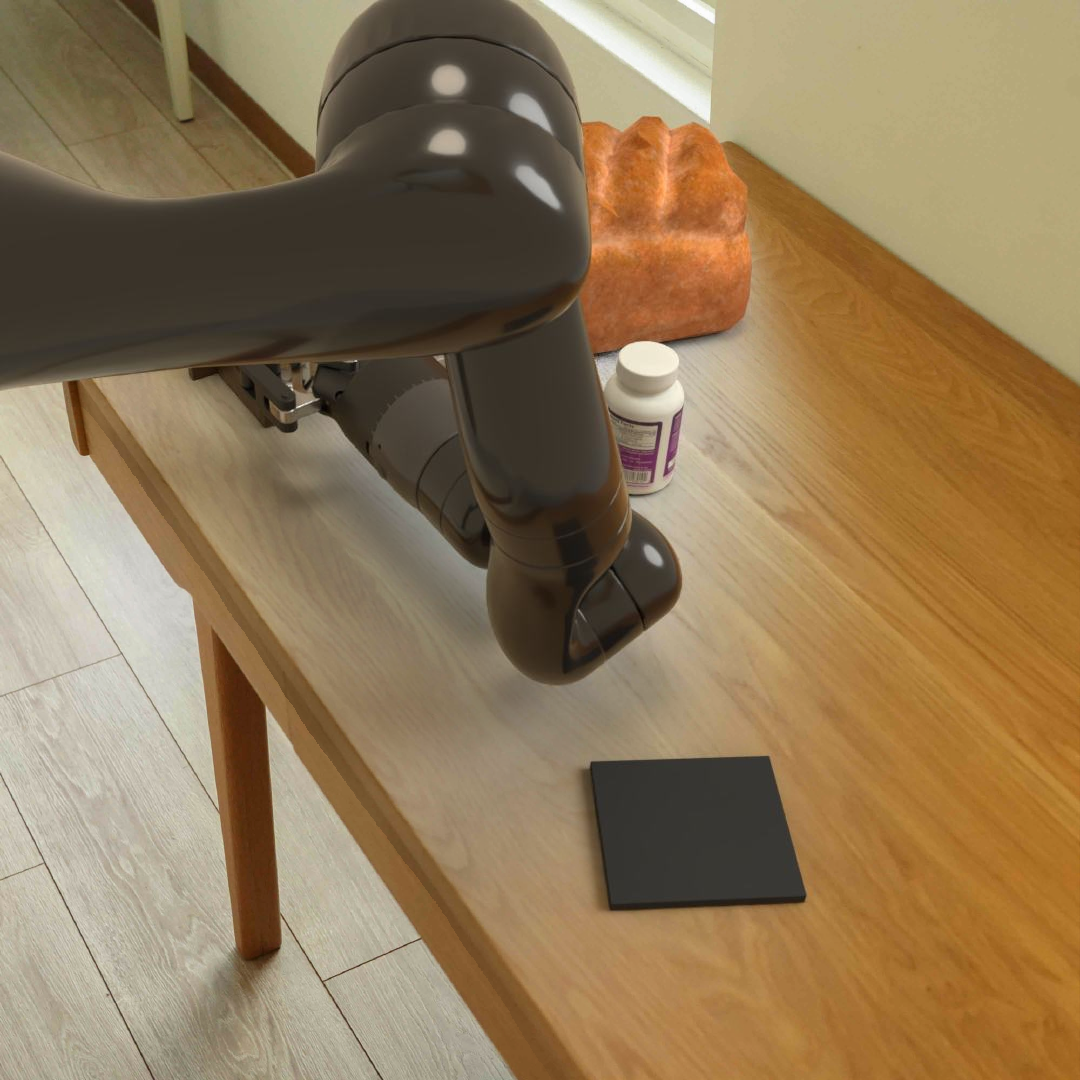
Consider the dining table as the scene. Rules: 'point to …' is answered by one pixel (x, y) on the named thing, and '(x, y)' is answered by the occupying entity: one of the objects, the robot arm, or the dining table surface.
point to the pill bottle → (646, 414)
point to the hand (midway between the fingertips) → (304, 310)
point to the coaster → (694, 833)
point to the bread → (662, 235)
